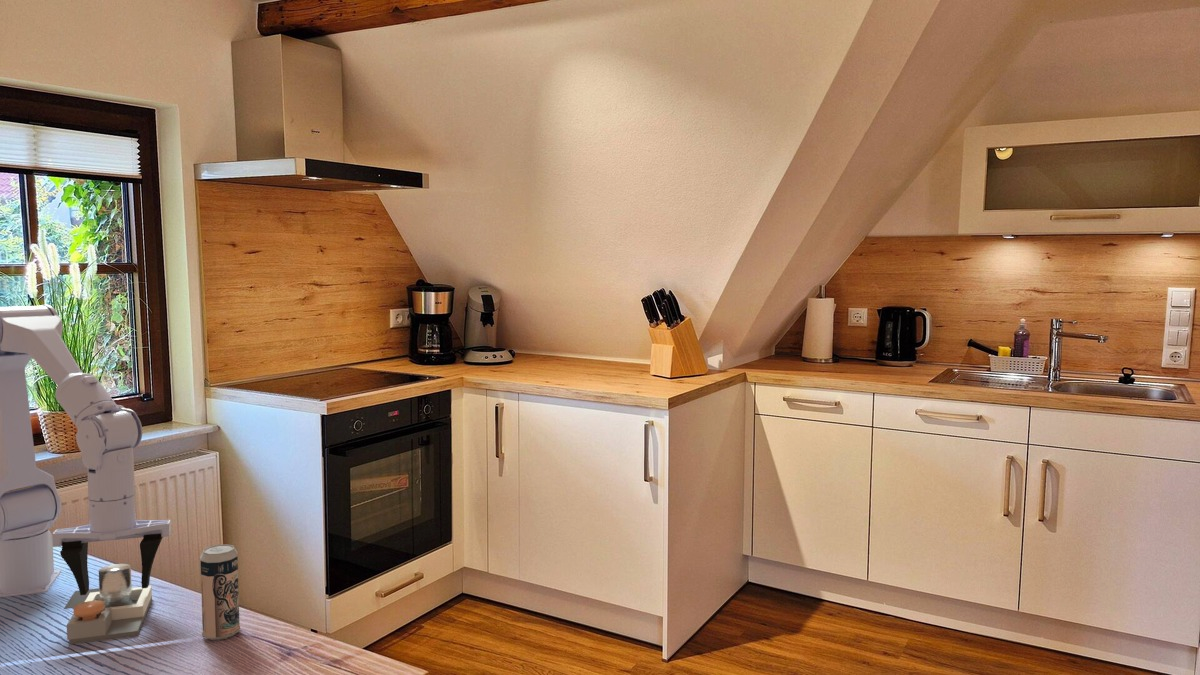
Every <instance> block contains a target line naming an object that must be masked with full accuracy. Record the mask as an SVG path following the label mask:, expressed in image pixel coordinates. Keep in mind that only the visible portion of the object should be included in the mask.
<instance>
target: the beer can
mask: <svg viewBox="0 0 1200 675" xmlns="http://www.w3.org/2000/svg"><path fill="white" fill-rule="evenodd" d="M238 557H239V552H238V551H237V549H236V548H235V545H232V544H222V543H221V544H215V545H211V546H208V547H206V548H204V549H203V550H202V553H201V555H200V557H199V561H200V562H199V564H200V582H201V583H200V588H201V590H200V591H201V593H200V594H201V617H202V619H201V620H202V622H201V624H202V632H201V635H202V637H203V638H206V639H208V640H212V641H221V640H222V641H223V640H226V639H229V638H231V637H234V636H235V635H236V634H238V632H239V631H240V630H241V626H240V596H239V594H240V593H239V563H238V562H239V560H238V559H239V558H238Z"/></svg>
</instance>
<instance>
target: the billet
mask: <svg viewBox="0 0 1200 675" xmlns="http://www.w3.org/2000/svg"><path fill="white" fill-rule="evenodd" d="M132 585H133V584H132V565H131V564H129V563H115V564H110V565H105V566H104V567H101V568H100V569H98V588H99V594H100V601H103V602H104V603H105V608H109V607H118V606H126V605H132V588H133V586H132Z"/></svg>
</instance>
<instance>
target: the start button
mask: <svg viewBox="0 0 1200 675" xmlns="http://www.w3.org/2000/svg"><path fill="white" fill-rule="evenodd" d="M72 609H73V610H72V611H73V614H74V616H76V617H83V620H90V619H97V616H96V615H97V614H99V613H101V612H103V611H104V610H105V603H104V602H103V601H98V600H96V601H87V602H83V603H80V604H78V605H76V606H75V607H74V608H72Z"/></svg>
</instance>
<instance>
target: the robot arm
mask: <svg viewBox="0 0 1200 675" xmlns="http://www.w3.org/2000/svg"><path fill="white" fill-rule="evenodd" d="M62 336H63V320H62V319H61V317H60V316H59V313H58V312H57V311H56V309H55V308H54V307H53V306H52V305H50V304H41V305H24V306H22V305H21V306H20V305H19V306H17V305H16V306H0V598H5V597H17V596H25V595H35V594H42V593H46V592H48V591H49V589H50V588H51V587H52V585H53V584H54V582H55V581H56V580H57V578H58V577H59V575H60V574H61V573H62V570H61V569H55V564H54V562H55V560H54V559H55V558H54V548H57V547H61V550H60V552H59V553H60V556H61V558H62V560H64V562H65V563H66V565H67V567H69V569H70V571H71V573H72V574H73V577H74V580H75V582H76V584H77V587H78V589H79V590H78V591H80V595H86V594H87V592H88V590H89V589H90V579H89V577H90V576H89V570H88V554H89V553H88V552H89V550H88V549H89V543H96V542H98V543H99V542H107V541H118V540H120V541H121V540H128V539H130V540H131V539H138V538H139V539H140V538H141V539H142V540H141V541H140V543H139V551H140V556H141V557H140V559H141V587H142V589H143V588H148V586H150V583H151V582H150V580H151V579H150V578H151V572H152V567H153V563H154V560H155V557H156V554H157V553H158V552H157V551H158V548H159V546H160V544H161V542H162V540H163V538H164V537H170V535H171V533H172V522H171V519H159V520H158V519H157V520H147V519H143V520H142V519H141V520H139V519H137V518H136V517H137V515H136V491H135V490H136V489H135V488H136V486H135V485H136V483H135V461H134V459H135V458H134V457H135V456H134V449H136V448H137V447H138V446H139V445H140V443H141V442H142V439H143V425H142V421H141V420H140V418H139V416H138V414H137V412H136V411H134V409H131V408H126V407H124V405H121V404H117V403H116V402H115V401H114V399H113V398H112V397H111V395H110V394H109V392H108V391H107V390H106V389H105V387H104V386H103V385H102V383H101V382H100V380H99V379H98V377H96V376H95V375H94V374H92V373H89V372H87V373H85V372H83V371H82V369H81V368H80V366H79V365H78V364H77V361H76V360H75V359H74V357H73V355H72V353H71V351H70V350H69V348H68V347H67V346H68V345H66V343H65V341H64V340H63V338H62ZM32 359H33V360H34V361H35V362H36V363H37V364H38V365H39V366H40V368H41V369H42V370H43V371H44V373H46V375H47V376H48V377H49V378H50V379H51V380H52V381H53V382H54V384H55V385H56V386H57V387H56V389H55V393H54V398H55V399H56V401H57V402H58V404H59V405H60V406H61V408H62V409H63V410H64V411H65V413H66V415H67V416H68V417H69V419H70V420H71V421H72V423H73V424H74V426H75V428H76V429H77V432H76V433H75V440H76V444H77V447H78V449H79V451H80V453H81V462H82V464H83V467H84V468H86V470H87V472H86V473H87V493H88V494H87V497H88V499H87V500H88V518H89V524H86V525H85V524H84V525H80V526H75V527H74V526H73V527H68V528H67V527H66V528H58V529H55V530H54V531H53V532H52V533H51V531H50V530H49V529H53V528H54V522H56V521H57V519H58V518H59V517H60V514H61V512H62V499H61V495H60V494H59V492H58V488H57V487H56V483H55V482H56V481H55V478H54V475H52V474H50V473H49V472H46V471H45V470H42V469H40V468H39V467H37V462H36V455H35V454H36V453H35V446H34V437H33V436H34V435H33V428H32V421H31V413H30V411H31V410H30V405H29V404H30V403H29V394H28V386H27V379H26V370H25V368H26V366H28V364H29V363H30V361H31V360H32Z"/></svg>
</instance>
